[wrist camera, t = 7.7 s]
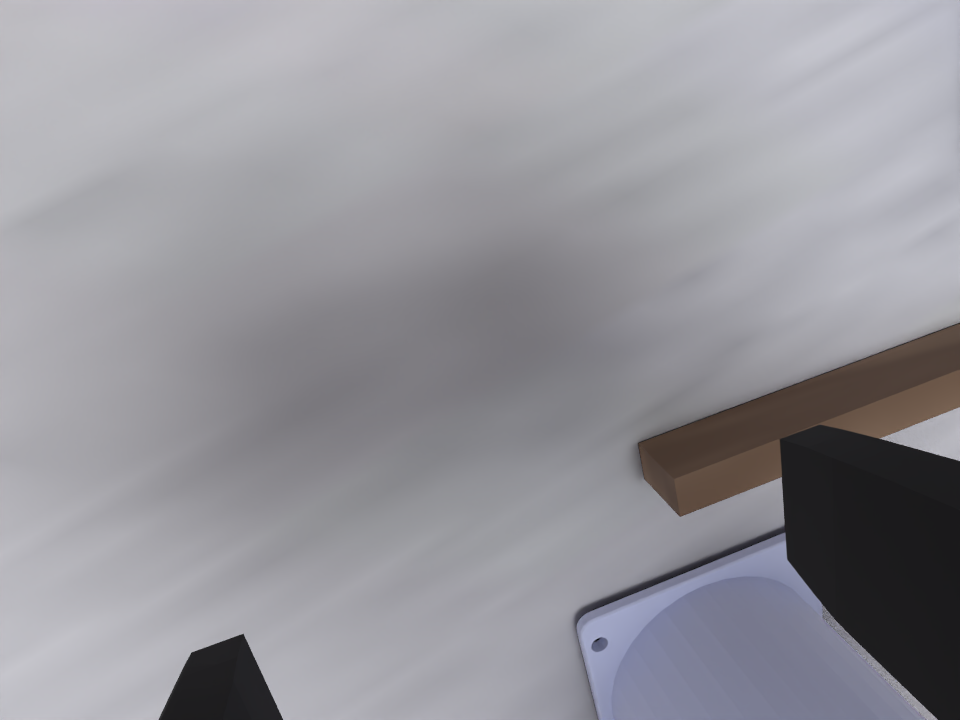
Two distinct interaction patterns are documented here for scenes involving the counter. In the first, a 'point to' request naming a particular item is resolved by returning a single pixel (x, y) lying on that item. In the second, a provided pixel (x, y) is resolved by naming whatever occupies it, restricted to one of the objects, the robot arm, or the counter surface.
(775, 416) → the bay
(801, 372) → the counter surface
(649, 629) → the robot arm
